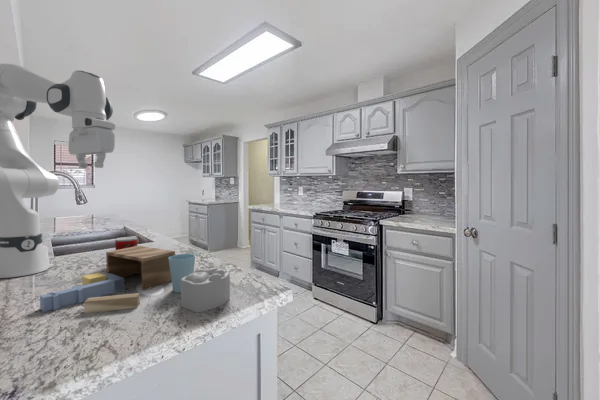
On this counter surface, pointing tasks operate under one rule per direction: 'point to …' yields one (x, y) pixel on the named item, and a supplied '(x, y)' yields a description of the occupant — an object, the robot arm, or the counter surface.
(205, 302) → the lumpy-topped squat cylinder
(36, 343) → the counter surface
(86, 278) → the ochre block
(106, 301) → the beech stick
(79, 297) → the crook
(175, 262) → the cup
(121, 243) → the canned food
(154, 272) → the box
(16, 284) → the counter surface
